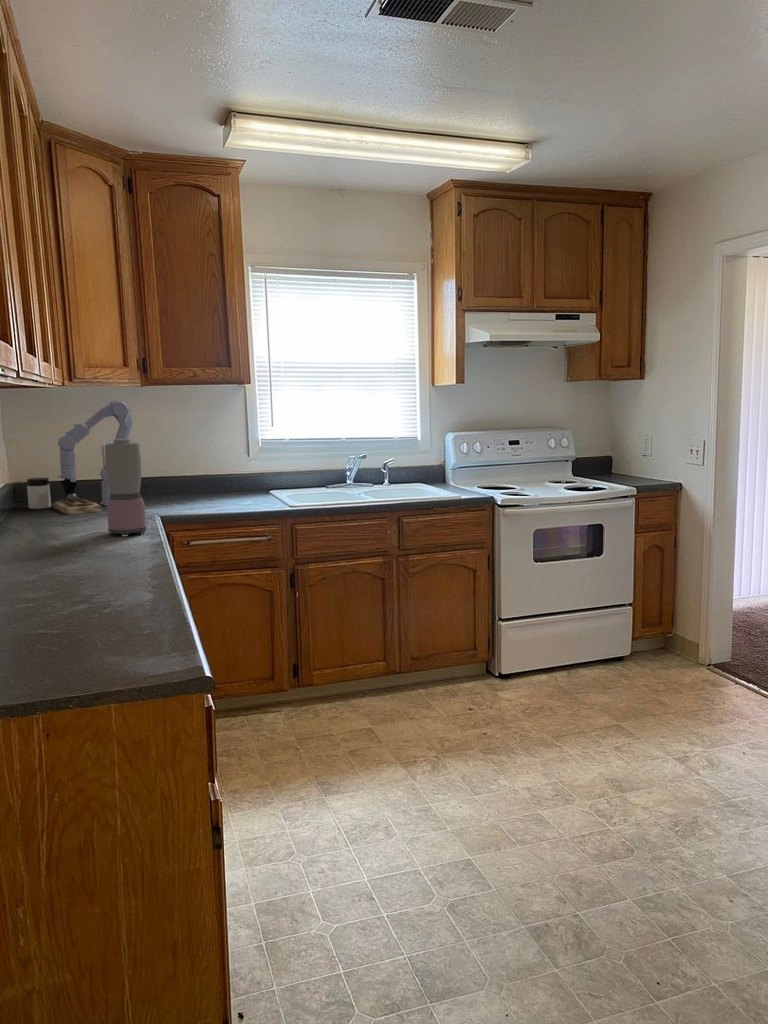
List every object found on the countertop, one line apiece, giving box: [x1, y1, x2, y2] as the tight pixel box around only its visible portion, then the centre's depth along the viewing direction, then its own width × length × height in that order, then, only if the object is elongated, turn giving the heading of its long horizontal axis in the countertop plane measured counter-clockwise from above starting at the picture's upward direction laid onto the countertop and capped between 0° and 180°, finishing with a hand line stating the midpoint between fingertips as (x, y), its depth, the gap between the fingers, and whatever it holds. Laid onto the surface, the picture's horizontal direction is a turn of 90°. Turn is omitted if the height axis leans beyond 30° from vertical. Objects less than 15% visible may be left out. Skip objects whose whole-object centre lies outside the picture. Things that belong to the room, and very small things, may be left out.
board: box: [52, 497, 103, 516], centre depth 305 cm, size 13×22×3 cm, turn 37°
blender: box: [104, 438, 147, 536], centre depth 253 cm, size 16×12×32 cm
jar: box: [26, 477, 52, 510], centre depth 311 cm, size 9×8×12 cm
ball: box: [66, 492, 79, 502], centre depth 309 cm, size 4×4×4 cm
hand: (69, 497), depth 312 cm, fingers closed
